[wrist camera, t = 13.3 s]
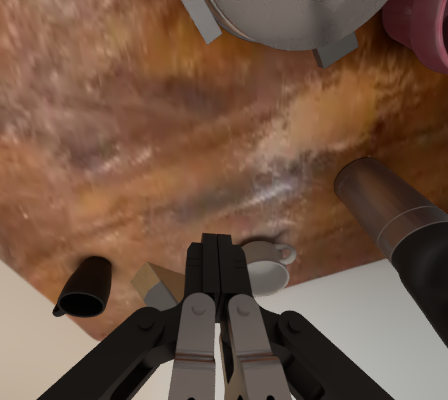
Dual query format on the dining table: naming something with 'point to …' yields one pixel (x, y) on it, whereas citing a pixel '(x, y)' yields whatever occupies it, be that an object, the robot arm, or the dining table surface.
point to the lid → (298, 20)
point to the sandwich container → (159, 286)
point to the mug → (86, 289)
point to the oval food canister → (206, 23)
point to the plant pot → (420, 29)
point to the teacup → (267, 266)
